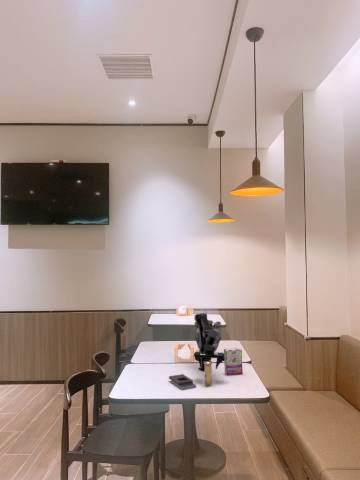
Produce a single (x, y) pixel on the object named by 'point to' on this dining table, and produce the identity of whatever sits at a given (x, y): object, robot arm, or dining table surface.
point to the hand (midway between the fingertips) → (208, 368)
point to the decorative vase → (206, 338)
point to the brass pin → (208, 373)
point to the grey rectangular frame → (182, 382)
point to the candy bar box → (233, 361)
